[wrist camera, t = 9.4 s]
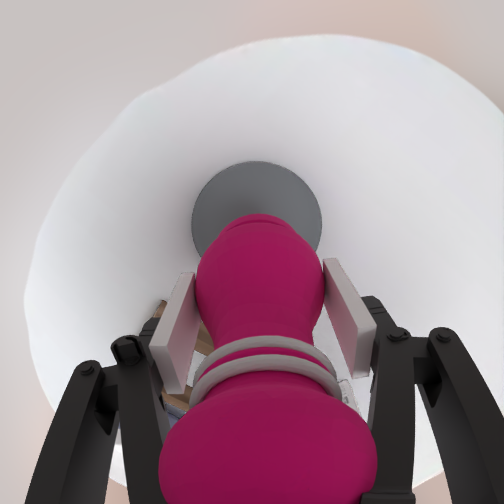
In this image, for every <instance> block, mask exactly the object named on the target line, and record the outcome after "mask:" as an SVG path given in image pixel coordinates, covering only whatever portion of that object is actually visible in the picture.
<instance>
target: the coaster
mask: <svg viewBox="0 0 504 504" xmlns="http://www.w3.org/2000/svg"><path fill="white" fill-rule="evenodd" d="M258 213H259V214H268V215H272V216H275V217H278V218H280V219H282V220H284V221H285V222H287V223H288V224H289V225H290V226H291V227H292V228H293V229H294V230H295V231H296V233H297V234H299V235H300V236H301V237H302V238H303V239H304V240H306V241H307V242H308V243H309V245H310V246H311V247H312V248H313V250H314V251H316V249H317V247H318V244H319V241H320V236H321V229H322V220H321V213H320V208H319V205H318V202H317V200H316V198H315V196H314V194H313V192H312V191H311V190H310V188H309V187H308V185H307V184H306V183H305V182H304V181H303V180H302V179H301V178H299V177H298V176H297V175H296V174H295V173H293V172H291V171H290V170H288V169H286V168H284V167H282V166H279V165H276V164H273V163H268V162H246V163H241V164H237V165H234V166H232V167H229V168H227V169H225V170H224V171H222V172H220V173H219V174H218V175H216V176H215V177H214V178H213V179H212V180H211V181H210V182H209V183H208V184H207V185H206V186H205V188H204V189H203V190H202V192H201V193H200V195H199V197H198V199H197V201H196V204H195V206H194V210H193V214H192V224H191V225H192V235H193V240H194V243H195V246H196V249H197V251H198V253H199V255H200V256H201V258H202V256H203V254H204V253H205V251H206V250H207V248H208V247H209V246H210V245H211V244H212V242H213V241H214V240H216V239H217V237H218V235H219V234H220V232H221V231H222V230H223V229H224V228H225V227H226V226H227V225H228V224H229V223H230V222H232V221H234V220H235V219H237V218H239V217H242V216H246V215H249V214H258Z"/></svg>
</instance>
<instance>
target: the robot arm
mask: <svg viewBox="0 0 504 504" xmlns="http://www.w3.org/2000/svg"><path fill="white" fill-rule="evenodd" d="M323 274H324V280H325V295H324V305H325V307H326V310H327V313H328V315H329V318H330V320H331V323H332V326H333V328H334V331H335V334H336V336H337V339H338V342H339V344H340V347H341V350H342V352H343V355H344V358H345V360H346V363H347V366H348V369H349V372H350V374H351V377H352V379H356V378H362V377H367V376H369V373H370V367H371V368H372V371H373V373H374V375H373V380H372V385H371V390H370V393H371V397H370V406H369V413H368V421H367V425H368V427H369V430H370V432H371V435H372V437H373V439H374V442H375V445H376V451H377V472H376V478H375V482H374V485H373V487H372V489H371V490H370V491H369V492H364V493H362V495H361V499H360V502H359V504H415V503H416V498H415V494H413V493H412V479H413V466H414V448H415V384H417V386H418V389H419V392H420V394H421V397H422V400H423V403H424V406H425V409H426V412H427V415H428V418H429V421H430V424H431V427H432V430H433V433H434V436H435V440H436V443H437V446H438V450H439V453H440V457H441V460H442V464H443V468H444V471H445V475H446V479H447V482H448V487H449V491H450V495H451V500H452V504H504V417H503V415H502V413H501V411H500V409H499V407H498V405H497V403H496V401H495V399H494V397H493V395H492V394H491V392H490V390H489V388H488V386H487V384H486V382H485V381H484V379H483V377H482V375H481V373H480V372H479V370H478V368H477V366H476V365H475V363H474V361H473V360H472V358H471V356H470V355H469V353H468V351H467V350H466V348H465V346H464V345H463V343H462V342H461V340H460V338H459V337H458V335H457V334H456V333H455V332H454V331H453V330H451V329H449V328H445V327H438V328H434V329H433V330H431V331H430V334H429V337H412V336H411V335H410V333H409V332H408V331H407V330H406V329H404V328H401V327H397V326H396V324H395V322H394V321H393V319H392V318H391V316H390V315H389V313H388V312H387V310H386V309H385V308H384V306H383V305H382V303H381V302H380V300H378V299H377V298H375V297H374V296H366V297H360V296H359V294H358V292H357V291H356V289H355V288H354V286H353V284H352V283H351V281H350V279H349V278H348V276H347V275H346V273H345V271H344V270H343V268H342V267H341V265H340V263H339V262H338V260H337V259H336V258H331V259H323ZM195 282H196V279H195V274H194V272H191V273H181V275H180V277H179V279H178V281H177V283H176V286H175V288H174V290H173V292H172V294H171V296H170V299H169V301H168V303H167V305H166V308H165V310H164V312H163V314H162V316H161V317H154V318H151V319H149V320H148V321H147V322H146V323H145V324H144V326H143V328H142V331H141V332H140V335H139V337H137V336H135V335H126V336H123V337H120V338H118V339H117V340H115V341H114V342H113V343H112V345H111V351H112V353H113V355H114V357H115V360H116V362H117V365H114V366H109V367H104V368H102V367H101V365H100V363H99V362H97V361H95V360H88V361H84V362H82V363H80V364H79V365H78V366H77V367H76V368H75V370H74V372H73V374H72V376H71V378H70V381H69V383H68V385H67V387H66V390H65V392H64V394H63V396H62V399H61V401H60V404H59V406H58V408H57V411H56V413H55V416H54V418H53V421H52V423H51V426H50V428H49V431H48V434H47V436H46V439H45V442H44V445H43V447H42V450H41V453H40V456H39V458H38V461H37V464H36V467H35V470H34V473H33V476H32V480H31V483H30V486H29V490H28V493H27V496H26V500H25V504H104V503H105V496H106V490H107V484H108V478H109V472H110V467H111V461H112V456H113V451H114V446H115V441H116V436H117V432H118V427H119V422H120V433H121V443H122V453H123V461H124V469H125V477H126V483H127V490H128V495H129V502H130V504H168V503H167V502H166V500H165V498H164V496H163V494H162V491H161V488H160V483H159V476H158V470H159V457H160V453H161V450H162V448H163V445H164V442H165V439H166V436H167V433H168V432H169V431H170V429H171V427H170V423H169V418H168V414H167V410H166V405H165V401H164V398H163V396H162V393H161V392H162V389H163V386H164V388H165V390H166V392H167V394H184V390H185V386H186V382H187V377H188V373H189V369H190V364H191V360H192V356H193V352H194V347H195V343H196V339H197V335H198V331H199V327H200V323H201V317H200V314H199V311H198V306H197V302H196V296H195Z"/></svg>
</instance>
